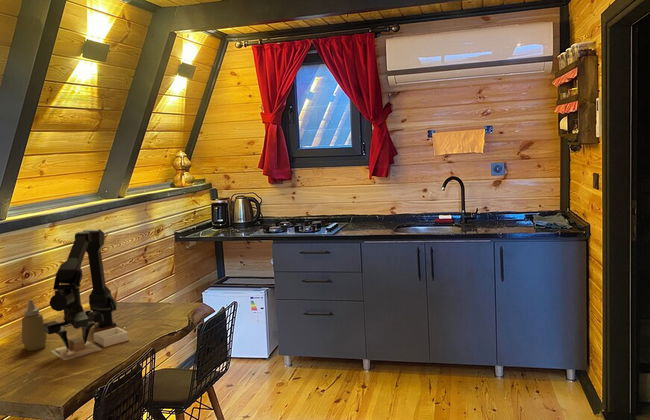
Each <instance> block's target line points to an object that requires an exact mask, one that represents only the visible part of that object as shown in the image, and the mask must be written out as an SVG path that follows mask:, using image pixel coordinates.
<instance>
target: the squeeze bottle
mask: <svg viewBox="0 0 650 420" xmlns="http://www.w3.org/2000/svg"><path fill="white" fill-rule="evenodd" d="M23 313H24V316H23V317H22V318H21V343H22V344H23V347H24V348H25V349H26V350H27V351H37V350H41V349H43V348H45V346H46V342H47V339H48V334H47V333H46V332H44V330H43V325H44V324H45V321H44V318H43V315H42V314H41V313H40V308H39V307H38V308H36V306H35V304H34V301H33V299H28V303H27V308H26V309H25V310H24V311H23Z"/></svg>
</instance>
